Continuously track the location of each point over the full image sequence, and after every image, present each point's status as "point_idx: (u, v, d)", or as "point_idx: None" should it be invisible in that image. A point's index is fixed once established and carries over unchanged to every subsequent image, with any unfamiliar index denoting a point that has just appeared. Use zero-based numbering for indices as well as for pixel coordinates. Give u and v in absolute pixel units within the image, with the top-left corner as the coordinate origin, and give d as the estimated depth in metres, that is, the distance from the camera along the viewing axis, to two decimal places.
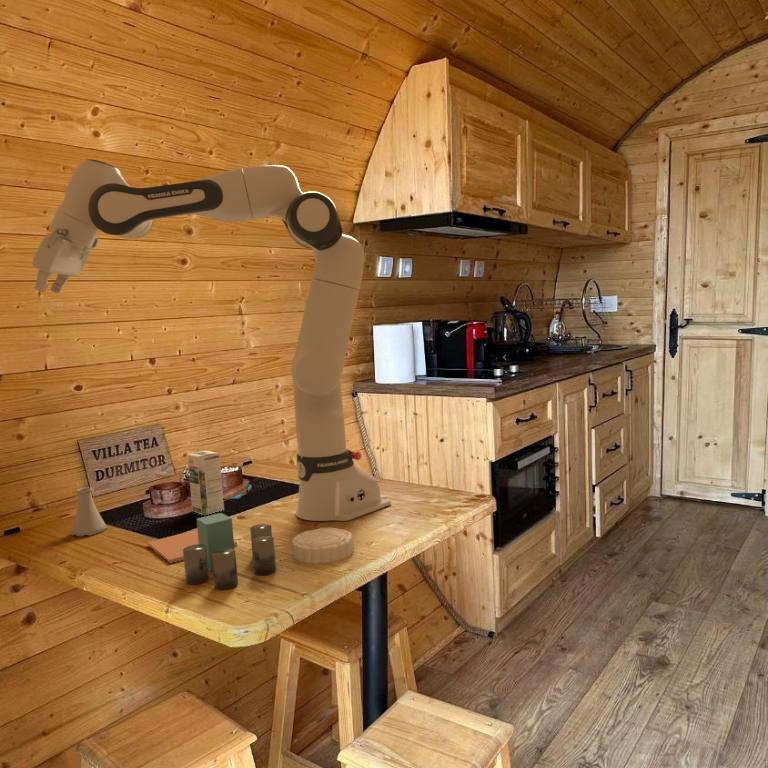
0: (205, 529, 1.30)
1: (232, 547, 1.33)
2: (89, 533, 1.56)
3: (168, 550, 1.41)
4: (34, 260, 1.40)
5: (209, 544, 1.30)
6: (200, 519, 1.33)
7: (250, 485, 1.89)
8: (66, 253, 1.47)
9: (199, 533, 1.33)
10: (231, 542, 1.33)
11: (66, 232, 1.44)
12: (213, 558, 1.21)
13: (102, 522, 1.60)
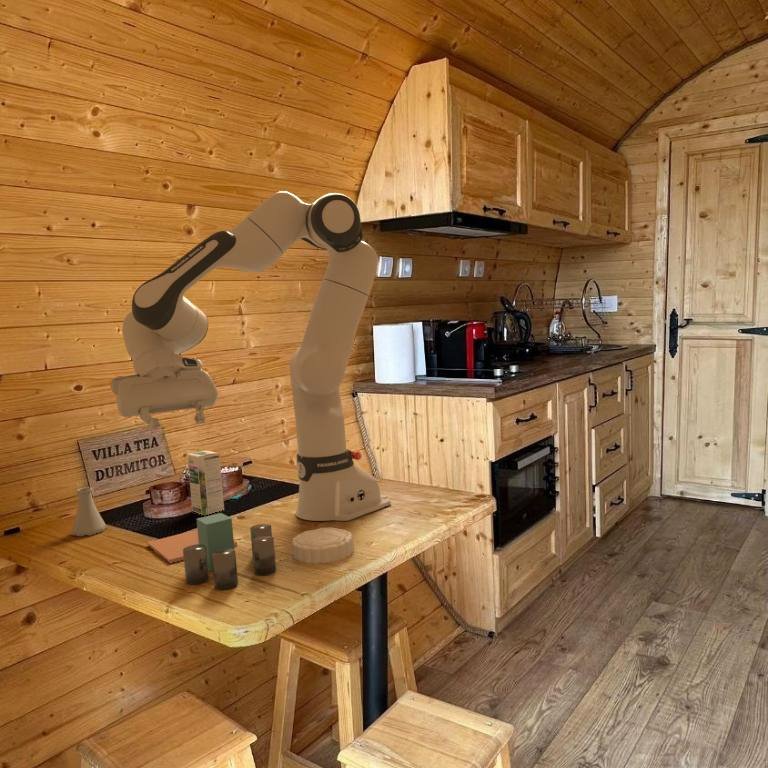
0: (205, 529, 1.30)
1: (232, 547, 1.33)
2: (89, 533, 1.56)
3: (168, 550, 1.41)
4: (119, 412, 1.39)
5: (209, 544, 1.30)
6: (200, 519, 1.33)
7: (250, 485, 1.89)
8: (151, 386, 1.43)
9: (199, 533, 1.33)
10: (231, 542, 1.33)
11: (135, 375, 1.44)
12: (213, 558, 1.21)
13: (102, 522, 1.60)
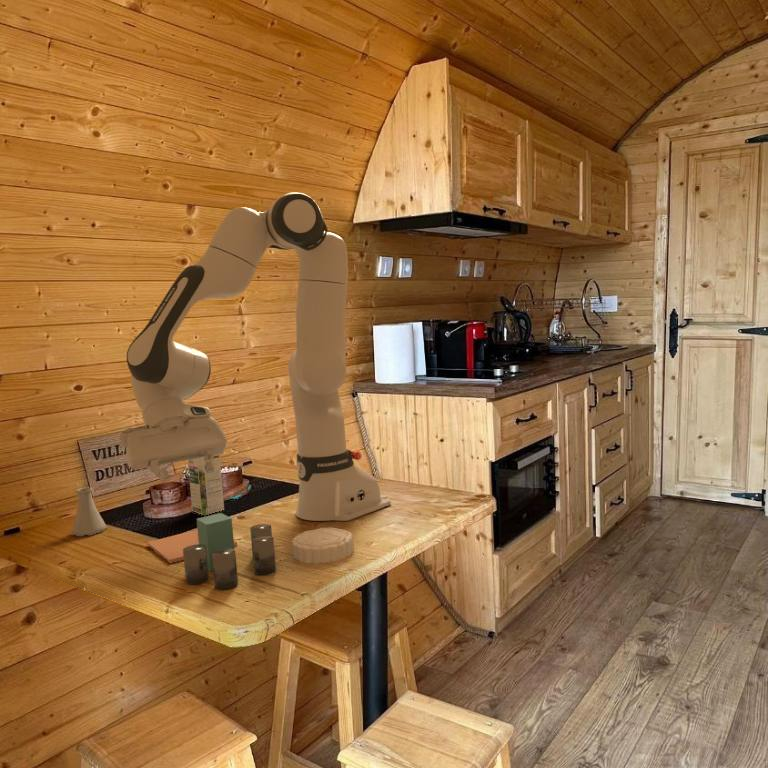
0: (205, 529, 1.30)
1: (232, 547, 1.33)
2: (89, 533, 1.56)
3: (168, 550, 1.41)
4: (129, 465, 1.40)
5: (209, 544, 1.30)
6: (200, 519, 1.33)
7: (249, 485, 1.89)
8: (160, 437, 1.43)
9: (199, 533, 1.33)
10: (231, 542, 1.33)
11: (144, 426, 1.45)
12: (213, 558, 1.21)
13: (102, 522, 1.60)
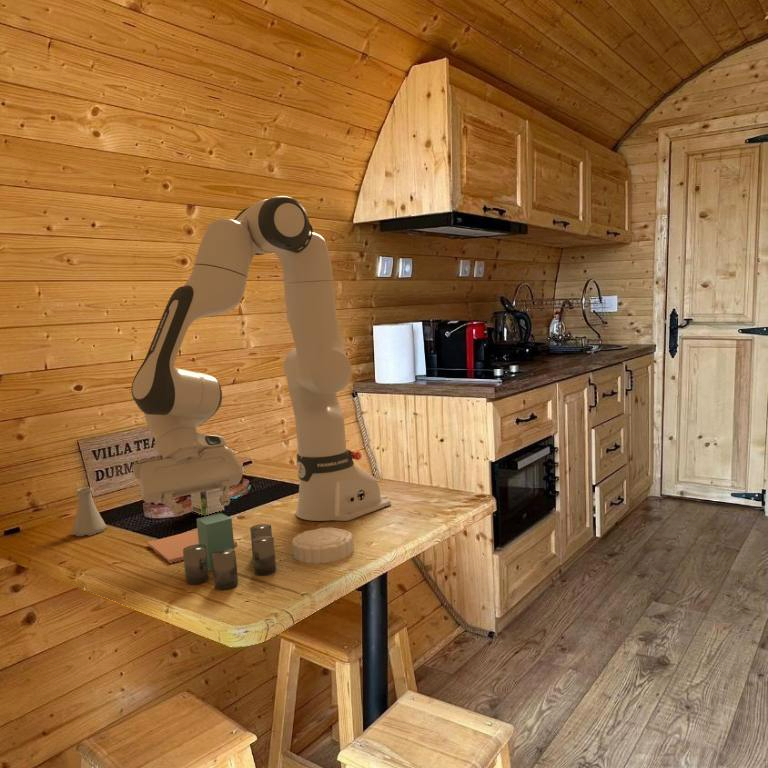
0: (205, 529, 1.30)
1: (232, 547, 1.33)
2: (89, 533, 1.56)
3: (168, 550, 1.41)
4: None
5: (209, 544, 1.30)
6: (200, 519, 1.33)
7: (249, 485, 1.89)
8: (174, 468, 1.38)
9: (199, 533, 1.33)
10: (231, 542, 1.33)
11: (157, 456, 1.40)
12: (213, 558, 1.21)
13: (102, 522, 1.60)
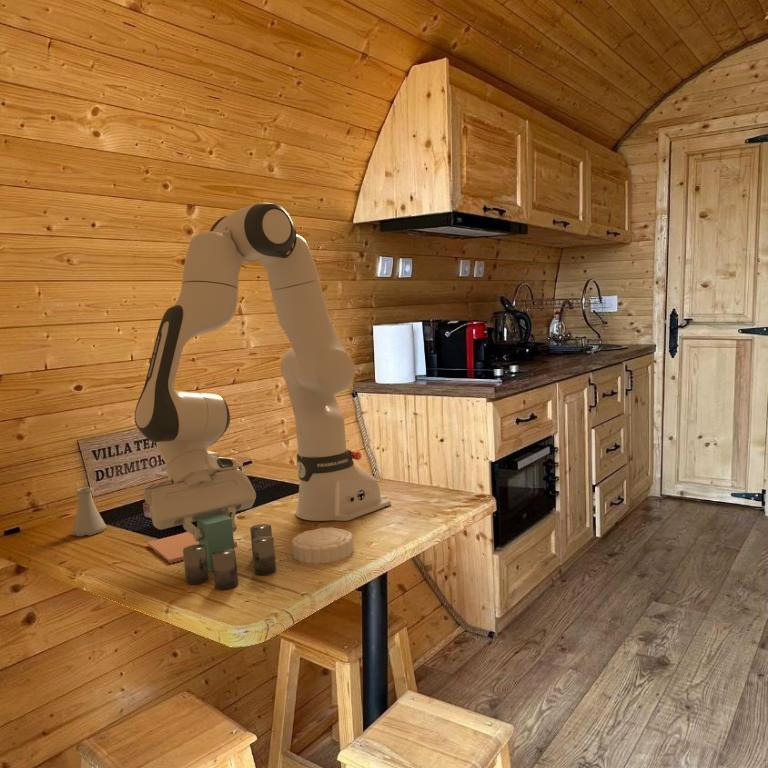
0: (205, 529, 1.30)
1: (232, 547, 1.33)
2: (89, 533, 1.56)
3: (168, 550, 1.41)
4: (153, 524, 1.31)
5: (209, 544, 1.30)
6: (200, 519, 1.33)
7: None
8: (186, 493, 1.35)
9: None
10: (231, 542, 1.33)
11: (168, 481, 1.36)
12: (213, 558, 1.21)
13: (102, 522, 1.60)
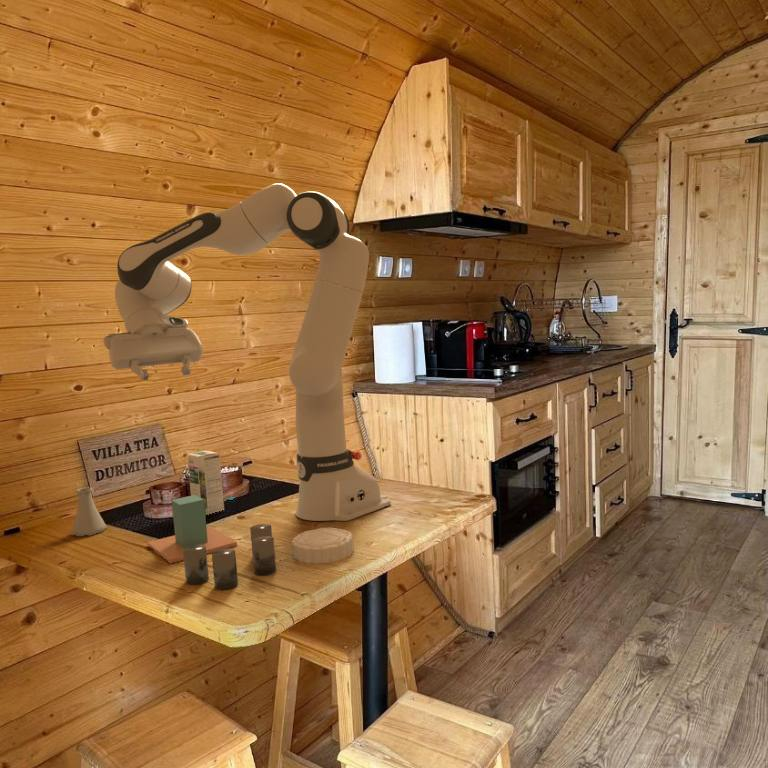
0: (179, 509, 1.41)
1: (204, 526, 1.44)
2: (89, 533, 1.56)
3: (168, 550, 1.41)
4: None
5: (182, 523, 1.41)
6: (175, 500, 1.44)
7: None
8: (140, 342, 1.56)
9: (174, 513, 1.44)
10: (203, 521, 1.44)
11: (126, 332, 1.58)
12: (213, 558, 1.21)
13: (102, 522, 1.60)
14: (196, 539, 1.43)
